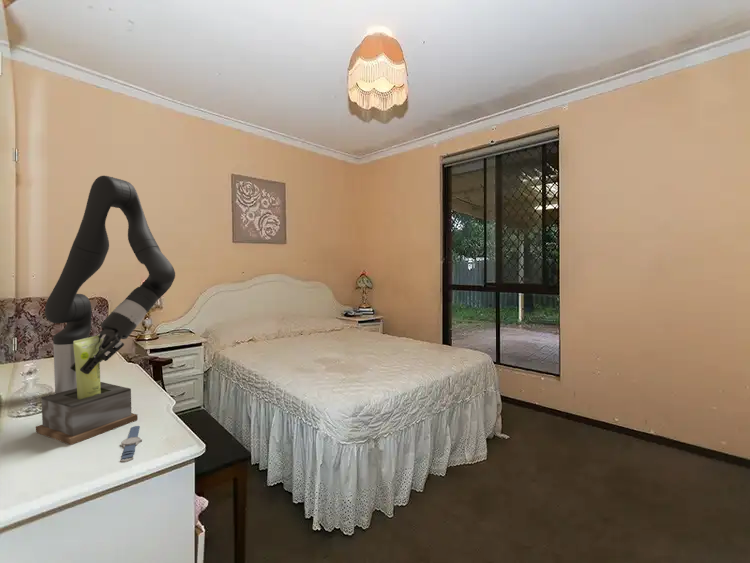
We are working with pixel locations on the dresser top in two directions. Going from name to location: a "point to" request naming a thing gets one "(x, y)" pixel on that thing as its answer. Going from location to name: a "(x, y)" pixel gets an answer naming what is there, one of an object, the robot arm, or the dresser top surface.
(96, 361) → the robot arm
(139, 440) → the wristwatch
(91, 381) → the tube
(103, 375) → the dresser top surface
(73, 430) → the socket
